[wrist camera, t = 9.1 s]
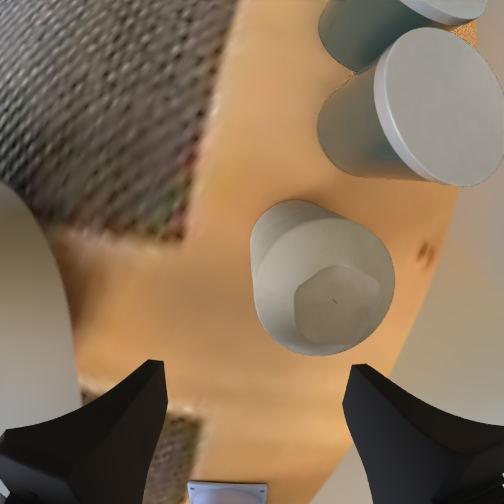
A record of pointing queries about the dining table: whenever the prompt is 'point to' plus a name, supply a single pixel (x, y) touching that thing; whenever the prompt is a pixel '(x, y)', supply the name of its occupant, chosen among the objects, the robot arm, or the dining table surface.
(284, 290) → the candle
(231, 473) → the dining table surface
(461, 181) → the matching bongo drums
